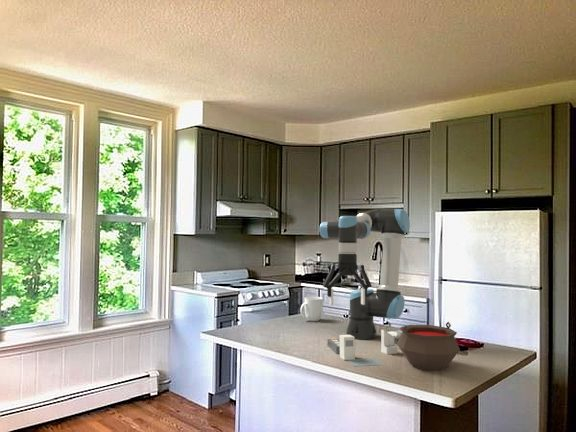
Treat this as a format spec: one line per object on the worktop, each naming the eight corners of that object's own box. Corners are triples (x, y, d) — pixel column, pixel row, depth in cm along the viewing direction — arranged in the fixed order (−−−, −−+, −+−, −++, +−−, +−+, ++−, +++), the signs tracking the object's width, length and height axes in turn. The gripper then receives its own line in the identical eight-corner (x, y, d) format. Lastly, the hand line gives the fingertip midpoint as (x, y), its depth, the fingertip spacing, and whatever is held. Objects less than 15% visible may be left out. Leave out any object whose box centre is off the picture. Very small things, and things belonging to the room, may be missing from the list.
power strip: (334, 342, 213) (334, 334, 213) (347, 353, 194) (347, 345, 194) (323, 343, 212) (324, 335, 213) (336, 354, 193) (336, 345, 193)
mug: (306, 323, 258) (306, 300, 258) (295, 320, 266) (295, 298, 267) (326, 320, 266) (326, 298, 267) (314, 317, 275) (315, 296, 276)
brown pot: (424, 377, 163) (424, 331, 164) (384, 360, 185) (384, 319, 186) (474, 370, 173) (473, 326, 173) (430, 354, 195) (430, 316, 195)
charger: (349, 356, 190) (349, 334, 191) (355, 359, 184) (354, 336, 185) (339, 356, 190) (338, 334, 191) (344, 360, 183) (344, 337, 184)
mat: (374, 359, 186) (374, 358, 186) (383, 365, 177) (383, 364, 177) (346, 360, 184) (346, 359, 184) (354, 367, 175) (354, 366, 175)
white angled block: (373, 348, 195) (381, 329, 197) (389, 357, 198) (396, 339, 201) (378, 350, 191) (386, 331, 194) (394, 359, 195) (402, 340, 197)
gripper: (372, 252, 194) (372, 302, 193) (316, 252, 189) (315, 303, 188) (379, 253, 186) (379, 305, 186) (320, 253, 182) (320, 306, 181)
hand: (347, 304), depth 187 cm, fingers open, 13 cm apart
